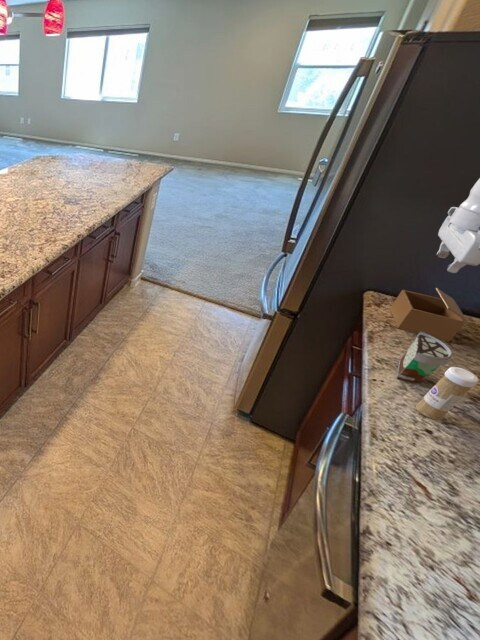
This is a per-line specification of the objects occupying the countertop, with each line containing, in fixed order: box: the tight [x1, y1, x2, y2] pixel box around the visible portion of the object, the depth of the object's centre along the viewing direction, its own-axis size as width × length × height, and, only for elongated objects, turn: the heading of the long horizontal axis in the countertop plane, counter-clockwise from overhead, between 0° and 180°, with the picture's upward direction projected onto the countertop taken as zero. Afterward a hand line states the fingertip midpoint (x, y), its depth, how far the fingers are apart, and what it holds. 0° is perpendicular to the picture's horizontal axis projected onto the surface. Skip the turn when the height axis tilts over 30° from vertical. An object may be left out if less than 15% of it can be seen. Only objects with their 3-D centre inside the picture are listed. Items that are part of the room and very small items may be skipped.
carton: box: [389, 289, 466, 343], centre depth 118 cm, size 11×12×8 cm
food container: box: [396, 332, 452, 384], centre depth 100 cm, size 12×6×10 cm, turn 132°
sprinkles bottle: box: [415, 366, 480, 421], centre depth 89 cm, size 5×5×13 cm
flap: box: [435, 287, 468, 322], centre depth 113 cm, size 5×12×1 cm, turn 147°
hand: (445, 263), depth 110 cm, fingers open, 8 cm apart
